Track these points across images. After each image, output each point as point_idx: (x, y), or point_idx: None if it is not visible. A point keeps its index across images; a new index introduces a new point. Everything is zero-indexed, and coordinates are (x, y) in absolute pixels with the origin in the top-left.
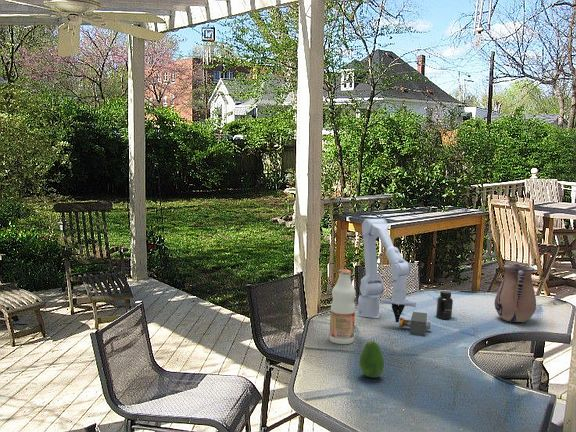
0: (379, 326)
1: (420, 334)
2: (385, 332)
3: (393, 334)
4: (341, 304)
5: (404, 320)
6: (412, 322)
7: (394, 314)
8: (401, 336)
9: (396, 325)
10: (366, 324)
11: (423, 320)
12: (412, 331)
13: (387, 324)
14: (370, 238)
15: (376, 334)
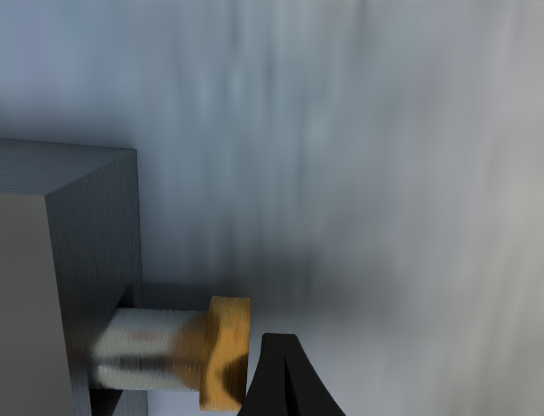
0: (429, 300)
1: (9, 142)
2: (393, 133)
3: (311, 86)
4: None
5: (193, 359)
6: (28, 182)
7: (335, 403)
8: (221, 35)
9: None
10: (537, 318)
11: None
12: (92, 152)
13: (353, 370)
14: None
15: (506, 23)
